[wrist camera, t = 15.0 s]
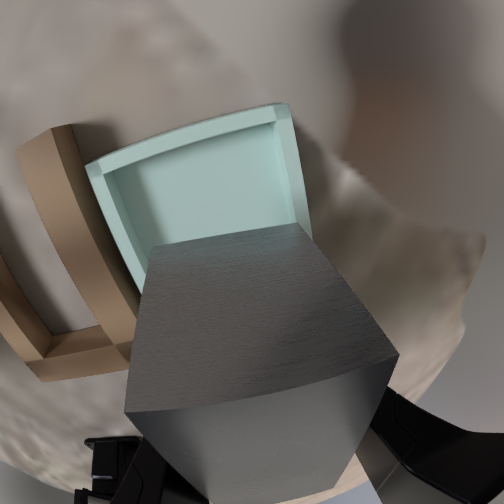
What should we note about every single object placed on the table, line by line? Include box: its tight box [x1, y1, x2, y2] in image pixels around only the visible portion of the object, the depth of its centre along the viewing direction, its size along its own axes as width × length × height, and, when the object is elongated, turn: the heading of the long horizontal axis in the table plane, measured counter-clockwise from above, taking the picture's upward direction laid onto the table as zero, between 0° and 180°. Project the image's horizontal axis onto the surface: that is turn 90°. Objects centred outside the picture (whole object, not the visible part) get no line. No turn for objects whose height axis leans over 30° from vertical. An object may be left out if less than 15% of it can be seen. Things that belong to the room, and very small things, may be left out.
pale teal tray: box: [85, 103, 313, 294], centre depth 14 cm, size 14×8×2 cm, turn 13°
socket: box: [0, 124, 142, 382], centre depth 12 cm, size 12×9×2 cm
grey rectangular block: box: [124, 222, 400, 504], centre depth 8 cm, size 8×4×5 cm, turn 5°
